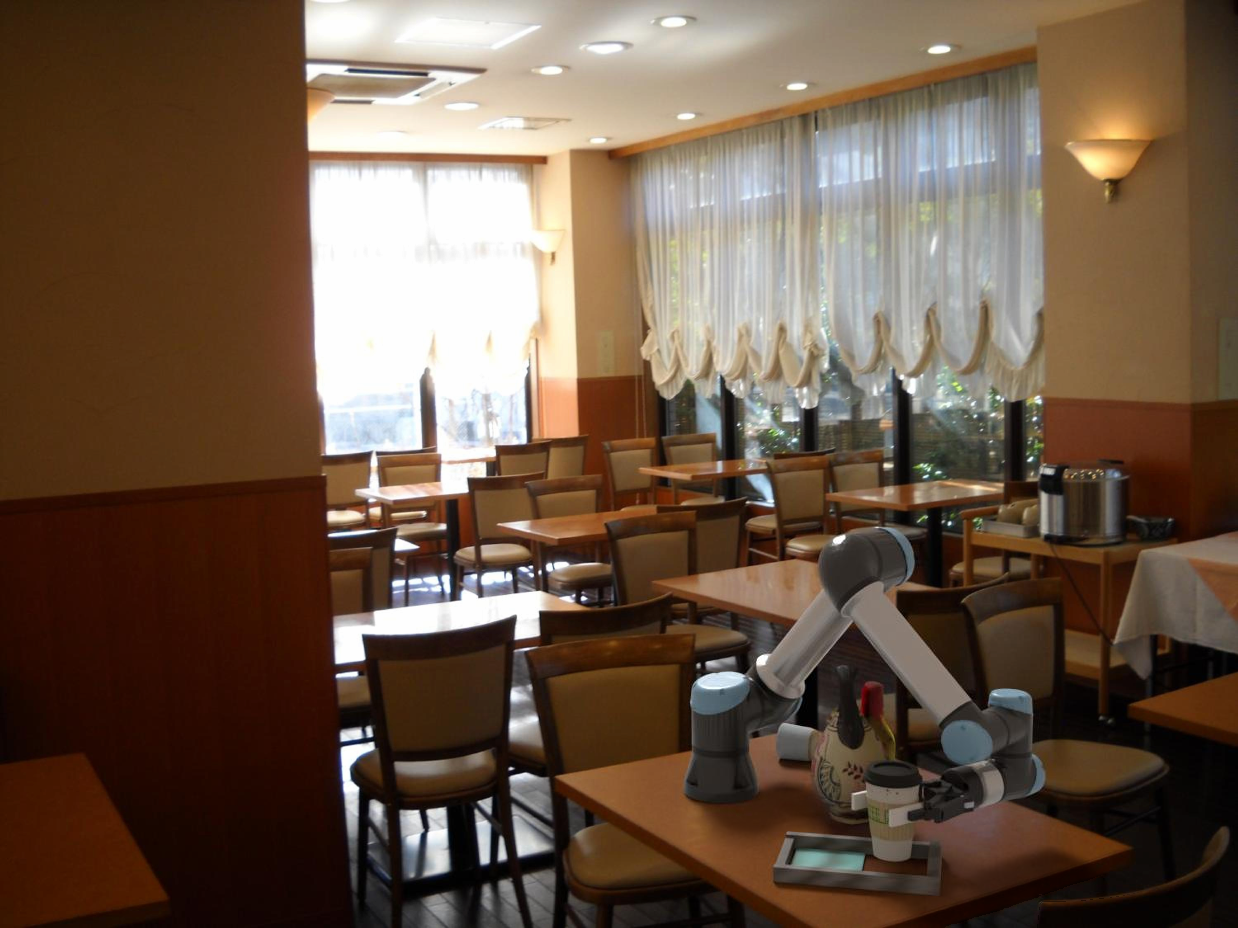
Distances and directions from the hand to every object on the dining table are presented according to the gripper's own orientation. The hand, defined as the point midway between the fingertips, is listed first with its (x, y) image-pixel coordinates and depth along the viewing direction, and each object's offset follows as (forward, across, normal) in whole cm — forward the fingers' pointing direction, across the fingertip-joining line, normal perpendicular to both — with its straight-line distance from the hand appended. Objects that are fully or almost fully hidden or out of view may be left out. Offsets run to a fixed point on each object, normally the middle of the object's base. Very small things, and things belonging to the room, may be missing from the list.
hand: (871, 809), depth 216 cm
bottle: (-36, +42, -12) cm, 56 cm away
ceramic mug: (-31, +60, -12) cm, 69 cm away
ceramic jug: (-16, +24, -12) cm, 31 cm away
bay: (-1, +4, -12) cm, 12 cm away
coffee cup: (-5, 0, -9) cm, 10 cm away
